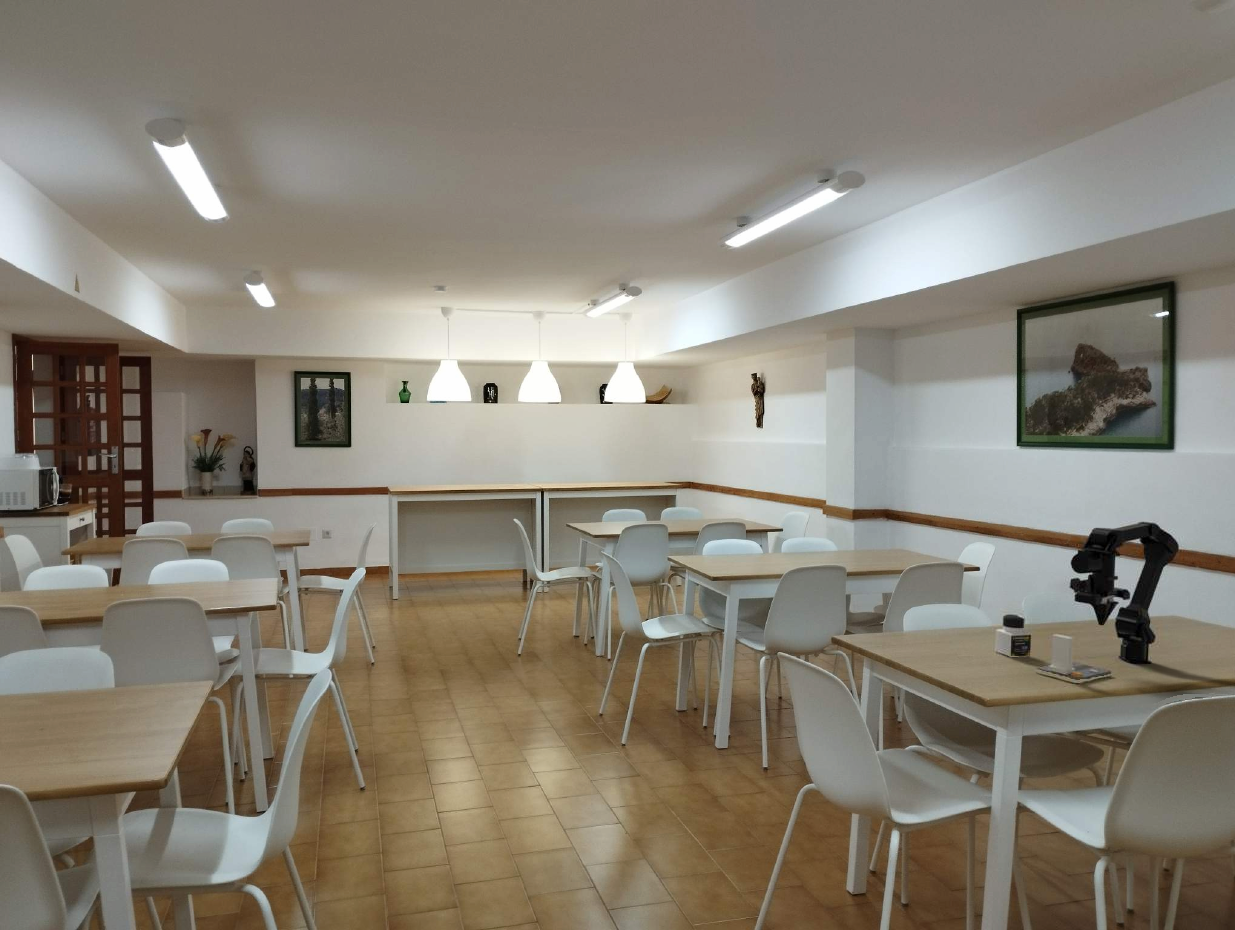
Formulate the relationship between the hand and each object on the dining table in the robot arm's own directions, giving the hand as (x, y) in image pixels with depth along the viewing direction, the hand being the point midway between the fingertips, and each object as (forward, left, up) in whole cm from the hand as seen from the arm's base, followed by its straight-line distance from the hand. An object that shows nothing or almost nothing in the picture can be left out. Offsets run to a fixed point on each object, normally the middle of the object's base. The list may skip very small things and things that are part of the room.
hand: (1101, 625), depth 259 cm
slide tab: (+18, +12, -10) cm, 24 cm away
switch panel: (+13, +9, -12) cm, 20 cm away
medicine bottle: (+20, -12, -12) cm, 26 cm away
